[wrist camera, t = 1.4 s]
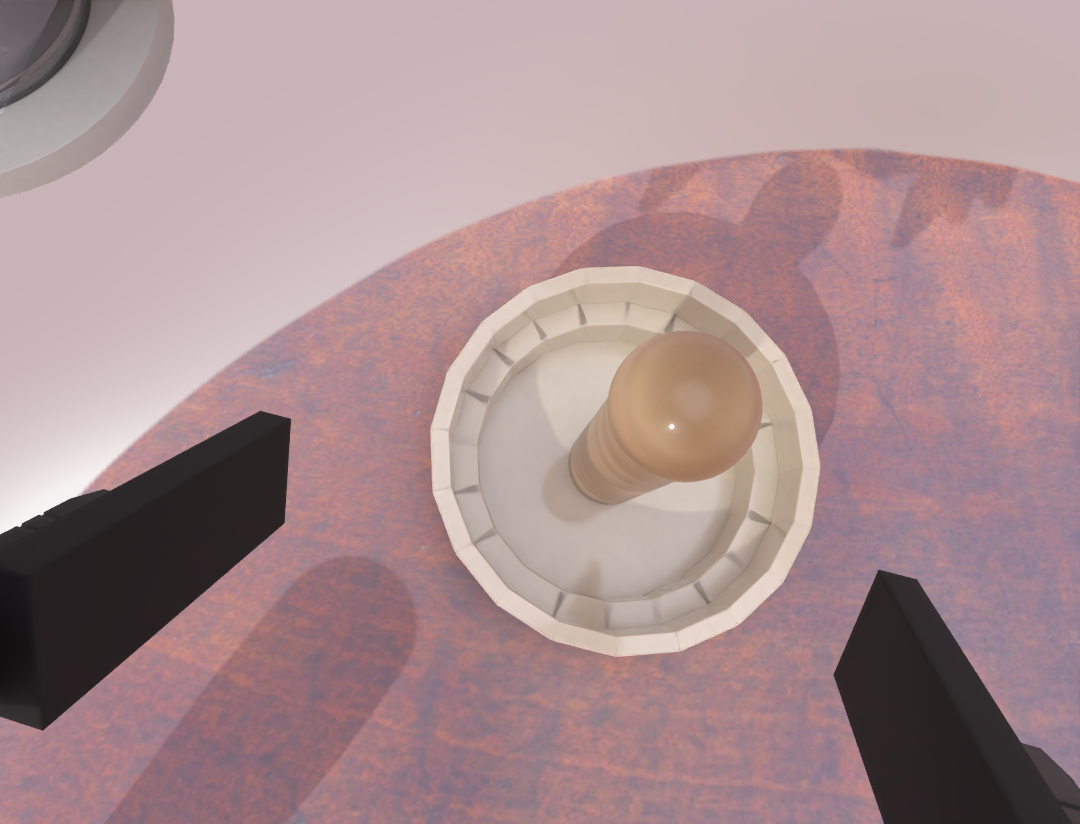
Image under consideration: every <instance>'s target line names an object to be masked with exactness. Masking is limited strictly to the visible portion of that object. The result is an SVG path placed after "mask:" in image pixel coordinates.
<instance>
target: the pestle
mask: <svg viewBox="0 0 1080 824" xmlns="http://www.w3.org/2000/svg"><path fill="white" fill-rule="evenodd" d="M762 412H763V400H762V394H761V389H760V386H759V382H758V380H757V377H756V375H755V373H754V371H753V369H752V368H751V366H750V364H749V363H748V362H747V360H746V359H745V358H744V357H743V356H742V355H741V354H740V353H739V352H738V351H737V350H736V349H735V348H734V347H732V346H731V345H729V344H728V343H726V342H725V341H723V340H721V339H719V338H717V337H715V336H712V335H709V334H706V333H701V332H696V331H674V332H669V333H664V334H661V335H658V336H656V337H653V338H651V339H649V340H647V341H645V342H644V343H642V344H641V345H639V346H638V347H636V348H635V349H634V350H633V351H632V352H631V353H630V354H629V355H628V356H627V357H626V358H625V359H624V360H623V362H622V363H621V365H620V366H619V368H618V369H617V371H616V373H615V375H614V377H613V380H612V382H611V386H610V389H609V394H608V398H607V399H606V401H605V402H604V403H603V405H602V406H601V407H600V409H599V410H598V411H597V413H596V414H595V415H594V417H593V418H592V419H591V421H590V422H589V423H588V425H587V426H586V427H585V429H584V430H583V432H582V433H581V434H580V436H579V437H578V438H577V440H576V441H575V443H574V444H573V446H572V448H571V451H570V455H569V472H570V476H571V478H572V481H573V483H574V485H575V486H576V487H577V489H578V490H579V491H580V492H581V493H582V494H583V495H584V496H585V497H587V498H588V499H590V500H592V501H594V502H597V503H600V504H605V505H614V504H620V503H623V502H626V501H628V500H631V499H633V498H636V497H638V496H641V495H643V494H646V493H648V492H651V491H653V490H656V489H658V488H661V487H663V486H666V485H668V484H671V483H673V482H682V483H687V482H698V481H702V480H707V479H710V478H713V477H715V476H718V475H719V474H721V473H723V472H725V471H727V470H728V469H730V468H731V467H733V466H734V465H735V464H736V463H738V462H739V461H740V460H741V459H742V458H743V456H744V455H745V454H746V453H747V451H748V450H749V449H750V447H751V446H752V444H753V442H754V441H755V439H756V436H757V434H758V431H759V428H760V424H761V419H762Z"/></svg>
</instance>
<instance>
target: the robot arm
mask: <svg viewBox="0 0 1080 824" xmlns="http://www.w3.org/2000/svg"><path fill="white" fill-rule="evenodd" d="M90 8H91V0H0V108H3V107H6V106H8V105H10V104H12V103H14V102H16V101H18V100H20V99H22V98H24V97H26V96H27V95H29V94H31V93H32V92H34V91H35V90H37V89H38V88H40V87H41V86H42V85H43V84H45V83H46V82H47V81H48V80H50V79H51V78H52V77H53V76H54V75H55V74H56V73H57V72H58V71H59V70H60V69H61V68H62V67H63V66H64V65H65V63H66V62H67V61H68V60H69V58H70V57H71V56H72V54H73V53H74V51H75V50H76V48H77V46H78V44H79V43H80V41H81V39H82V36H83V34H84V32H85V29H86V26H87V23H88V19H89V14H90ZM290 427H291V419H290V418H286V417H282V416H278V415H274V414H270V413H266V412H262V411H259V412H257V413H255V414H254V415H252V416H250V417H248V418H246V419H244V420H242V421H240V422H239V423H237V424H235V425H233V426H231V427H229V428H227V429H225V430H224V431H222V432H220V433H218V434H216V435H214V436H212V437H210V438H209V439H207V440H205V441H203V442H201V443H199V444H197V445H195V446H194V447H192V448H190V449H188V450H186V451H184V452H182V453H180V454H179V455H177V456H175V457H173V458H171V459H169V460H167V461H165V462H164V463H162V464H160V465H158V466H156V467H154V468H152V469H150V470H149V471H147V472H145V473H143V474H141V475H139V476H137V477H135V478H134V479H132V480H130V481H128V482H126V483H124V484H122V485H120V486H119V487H117V488H115V489H113V490H111V491H108V490H104V489H103V490H100V491H96V492H92V493H89V494H85V495H82V496H78V497H74V498H71V499H69V500H67V501H65V502H63V503H61V504H59V505H57V506H55V507H53V508H51V509H49V510H47V511H46V512H44V515H42V516H41V515H38V516H36V517H34V518H32V519H30V520H28V521H26V522H24V523H22V526H21V527H18V526H16V527H14V528H12V529H10V530H8V531H6V532H4V533H2V534H0V717H3V718H6V719H9V720H12V721H15V722H18V723H21V724H25V725H28V726H31V727H34V728H37V729H40V730H44V729H45V728H46V727H48V726H49V725H50V724H51V723H52V722H53V721H55V720H56V719H57V718H58V717H59V716H60V715H62V714H63V713H64V712H65V711H66V710H67V709H69V708H70V707H71V706H72V705H73V704H74V703H75V702H77V701H78V700H79V699H80V698H81V697H82V696H84V695H85V694H86V693H87V692H88V691H89V690H91V689H92V688H93V687H94V686H95V685H96V684H98V683H99V682H100V681H101V680H102V679H103V678H105V677H106V676H107V675H108V674H109V673H110V672H112V671H113V670H114V669H115V668H116V667H117V666H119V665H120V664H121V663H122V662H123V661H124V660H126V659H127V658H128V657H129V656H130V655H131V654H133V653H134V652H135V651H136V650H137V649H138V648H140V647H141V646H142V645H143V644H144V643H145V642H147V641H148V640H149V639H150V638H151V637H152V636H154V635H155V634H156V633H157V632H158V631H159V630H161V629H162V628H163V627H164V626H165V625H166V624H168V623H169V622H170V621H171V620H172V619H173V618H175V617H176V616H177V615H178V614H179V613H180V612H182V611H183V610H184V609H185V608H186V607H187V606H189V605H190V604H191V603H192V602H193V601H194V600H196V599H197V598H198V597H199V596H200V595H201V594H203V593H204V592H205V591H206V590H207V589H208V588H210V587H211V586H212V585H213V584H214V583H215V582H217V581H218V580H219V579H220V578H221V577H222V576H224V575H225V574H226V573H227V572H228V571H229V570H230V569H232V568H233V567H234V566H235V565H236V564H237V563H239V562H240V561H241V560H242V559H243V558H244V557H246V556H247V555H248V554H249V553H250V552H251V551H253V550H254V549H255V548H256V547H257V546H258V545H260V544H261V543H262V542H263V541H264V540H265V539H267V538H268V537H269V536H270V535H271V534H272V533H274V532H275V531H276V530H277V529H278V528H279V527H281V526H282V525H283V524H284V523H285V507H286V491H287V475H288V459H289V443H290ZM834 677H835V680H836V683H837V686H838V689H839V692H840V695H841V698H842V701H843V704H844V707H845V710H846V713H847V716H848V719H849V722H850V725H851V728H852V730H853V733H854V736H855V739H856V742H857V745H858V748H859V751H860V754H861V757H862V760H863V763H864V766H865V769H866V772H867V775H868V778H869V781H870V784H871V787H872V789H873V792H874V795H875V798H876V801H877V804H878V807H879V810H880V813H881V816H882V819H883V822H884V824H1080V789H1079V788H1078V786H1077V785H1076V783H1075V782H1074V780H1073V779H1072V778H1071V777H1070V776H1069V775H1068V774H1067V773H1066V772H1065V771H1064V770H1063V769H1062V768H1061V767H1059V766H1058V765H1057V764H1056V763H1055V762H1054V761H1053V760H1052V759H1051V758H1050V757H1049V756H1048V755H1047V754H1046V753H1045V752H1044V751H1043V750H1042V749H1041V748H1037V747H1034V746H1030V745H1027V744H1023V743H1021V742H1020V741H1019V739H1018V737H1017V736H1016V734H1015V733H1014V731H1013V730H1012V728H1011V726H1010V725H1009V723H1008V722H1007V720H1006V719H1005V717H1004V715H1003V714H1002V712H1001V711H1000V709H999V708H998V706H997V704H996V703H995V701H994V700H993V698H992V697H991V695H990V693H989V692H988V690H987V689H986V687H985V686H984V684H983V683H982V681H981V679H980V678H979V676H978V675H977V673H976V672H975V670H974V668H973V667H972V665H971V664H970V662H969V661H968V659H967V657H966V656H965V654H964V653H963V651H962V650H961V648H960V646H959V645H958V643H957V642H956V640H955V639H954V637H953V635H952V634H951V632H950V631H949V629H948V628H947V626H946V624H945V623H944V621H943V620H942V618H941V617H940V615H939V613H938V612H937V610H936V609H935V607H934V606H933V604H932V603H931V601H930V599H929V598H928V596H927V595H926V593H925V592H924V590H923V588H922V587H921V585H920V584H919V582H918V581H917V579H913V578H909V577H905V576H901V575H897V574H894V573H890V572H886V571H882V570H878V572H877V575H876V577H875V579H874V582H873V584H872V586H871V589H870V591H869V593H868V596H867V598H866V600H865V603H864V605H863V607H862V610H861V612H860V614H859V617H858V619H857V621H856V624H855V626H854V628H853V631H852V633H851V635H850V638H849V640H848V642H847V645H846V647H845V649H844V652H843V654H842V656H841V659H840V661H839V663H838V666H837V668H836V670H835V673H834Z"/></svg>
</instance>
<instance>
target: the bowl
mask: <svg viewBox="0 0 1080 824" xmlns="http://www.w3.org/2000/svg"><path fill="white" fill-rule="evenodd" d="M674 331H696V332H701V333H706V334H709V335H712V336H715V337H717V338H719V339H721V340H723V341H725V342H726V343H728V344H729V345H731V346H732V347H734V348H735V349H736V350H737V351H738V352H739V353H740V354H741V355H742V356H743V357H744V358H745V359H746V360H747V362H748V363H749V364H750V366H751V368H752V369H753V371H754V373H755V375H756V377H757V380H758V382H759V386H760V389H761V394H762V400H763V412H762V419H761V424H760V428H759V431H758V434H757V436H756V439H755V441H754V442H753V444H752V446H751V447H750V449H749V450H748V451H747V453H746V454H745V455H744V456H743V458H742V459H741V460H740V461H739V462H738V463H736V464H735V465H734V466H733V467H731V468H730V469H728V470H727V471H725V472H723V473H721V474H719V475H718V476H715V477H713V478H710V479H707V480H702V481H698V482H687V483H682V482H673V483H671V484H668V485H666V486H663V487H661V488H658V489H656V490H653V491H651V492H648V493H646V494H643V495H641V496H638V497H636V498H633V499H631V500H628V501H626V502H623V503H620V504H614V505H605V504H600V503H597V502H594V501H592V500H590V499H588V498H587V497H585V496H584V495H583V494H582V493H581V492H580V491H579V490H578V489H577V487H576V486H575V485H574V483H573V481H572V478H571V476H570V472H569V455H570V451H571V448H572V446H573V444H574V443H575V441H576V440H577V438H578V437H579V436H580V434H581V433H582V432H583V430H584V429H585V427H586V426H587V425H588V423H589V422H590V421H591V419H592V418H593V417H594V415H595V414H596V413H597V411H598V410H599V409H600V407H601V406H602V405H603V403H604V402H605V401H606V399H607V398H608V394H609V389H610V386H611V382H612V380H613V377H614V375H615V373H616V371H617V369H618V368H619V366H620V365H621V363H622V362H623V360H624V359H625V358H626V357H627V356H628V355H629V354H630V353H631V352H632V351H633V350H634V349H635V348H636V347H638V346H639V345H641V344H642V343H644V342H645V341H647V340H649V339H651V338H653V337H656V336H658V335H661V334H664V333H669V332H674ZM430 440H431V470H432V491H433V495H434V498H435V501H436V503H437V506H438V509H439V512H440V514H441V517H442V520H443V522H444V525H445V528H446V531H447V533H448V536H449V539H450V541H451V544H452V547H453V550H454V552H455V553H456V555H457V556H458V557H459V559H460V560H461V561H462V562H463V564H464V565H465V566H466V568H467V569H468V570H469V571H470V573H471V574H472V575H473V576H474V578H475V579H476V580H477V581H478V583H479V584H480V585H481V586H482V588H483V589H484V590H485V591H486V593H487V594H488V595H489V596H490V598H491V599H492V600H493V601H494V603H496V604H497V605H498V606H499V607H501V608H502V609H504V610H505V611H507V612H508V613H510V614H511V615H513V616H514V617H516V618H517V619H519V620H521V621H522V622H524V623H525V624H527V625H528V626H530V627H531V628H533V629H534V630H536V631H537V632H539V633H540V634H542V635H544V636H545V637H547V638H548V639H550V640H553V641H555V642H558V643H562V644H566V645H570V646H574V647H578V648H582V649H586V650H590V651H594V652H597V653H601V654H605V655H609V656H613V657H615V656H616V657H624V656H636V655H648V654H660V653H672V652H680V651H683V650H685V649H687V648H690V647H692V646H694V645H696V644H699V643H701V642H703V641H705V640H707V639H710V638H712V637H714V636H716V635H719V634H721V633H723V632H725V631H728V630H730V629H732V628H734V627H736V626H737V625H740V624H741V623H742V622H743V621H744V620H745V619H746V618H747V617H748V616H749V615H750V614H751V613H752V612H753V611H754V610H755V609H756V608H757V607H758V606H759V605H761V604H762V603H763V602H764V601H765V600H766V599H767V598H768V597H769V596H770V595H771V594H772V593H773V592H774V591H775V590H776V589H777V588H778V587H779V586H780V585H781V584H782V583H783V581H784V580H785V578H786V576H787V574H788V572H789V570H790V568H791V566H792V564H793V563H794V561H795V559H796V557H797V555H798V553H799V551H800V549H801V547H802V545H803V543H804V541H805V539H806V537H807V535H808V533H809V531H810V528H811V526H812V520H813V514H814V507H815V501H816V494H817V488H818V481H819V475H820V469H819V468H820V461H819V454H818V448H817V441H816V435H815V428H814V422H813V416H812V410H811V407H810V405H809V403H808V401H807V399H806V397H805V395H804V393H803V390H802V388H801V386H800V384H799V382H798V380H797V378H796V376H795V374H794V372H793V370H792V368H791V366H790V364H789V361H788V359H787V357H786V356H785V354H784V353H783V352H782V351H781V350H780V349H779V347H778V346H777V345H776V344H775V343H774V342H773V341H772V340H771V339H770V338H769V336H768V335H767V334H766V333H765V332H764V331H763V330H762V329H761V328H760V327H759V325H758V324H757V323H756V322H755V321H754V320H753V319H752V318H751V317H750V316H749V314H748V313H747V312H745V311H744V310H743V309H741V308H739V307H738V306H736V305H734V304H733V303H731V302H729V301H728V300H726V299H725V298H723V297H721V296H720V295H718V294H716V293H715V292H713V291H711V290H710V289H708V288H706V287H705V286H703V285H702V284H700V283H698V282H695V281H694V280H690V279H686V278H683V277H679V276H675V275H671V274H668V273H664V272H660V271H656V270H653V269H649V268H645V267H642V266H621V267H589V268H580V269H577V270H574V271H571V272H568V273H566V274H563V275H560V276H557V277H554V278H551V279H548V280H545V281H542V282H540V283H537V284H534V285H531V286H529V287H527V288H525V289H524V290H523V291H521V292H520V293H519V294H517V295H516V296H515V297H513V298H512V299H511V300H509V301H508V302H507V303H505V304H504V305H503V306H501V307H500V308H499V309H497V310H496V311H495V312H493V313H492V314H491V315H489V316H488V317H487V318H485V319H484V320H483V321H482V322H481V323H480V324H479V326H478V327H477V329H476V330H475V332H474V333H473V334H472V336H471V337H470V339H469V340H468V342H467V343H466V344H465V346H464V347H463V349H462V350H461V352H460V353H459V354H458V356H457V357H456V359H455V360H454V362H453V363H452V365H451V366H450V367H449V369H448V371H447V373H446V377H445V380H444V383H443V387H442V390H441V394H440V397H439V400H438V404H437V407H436V411H435V414H434V417H433V421H432V424H431V429H430Z"/></svg>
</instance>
